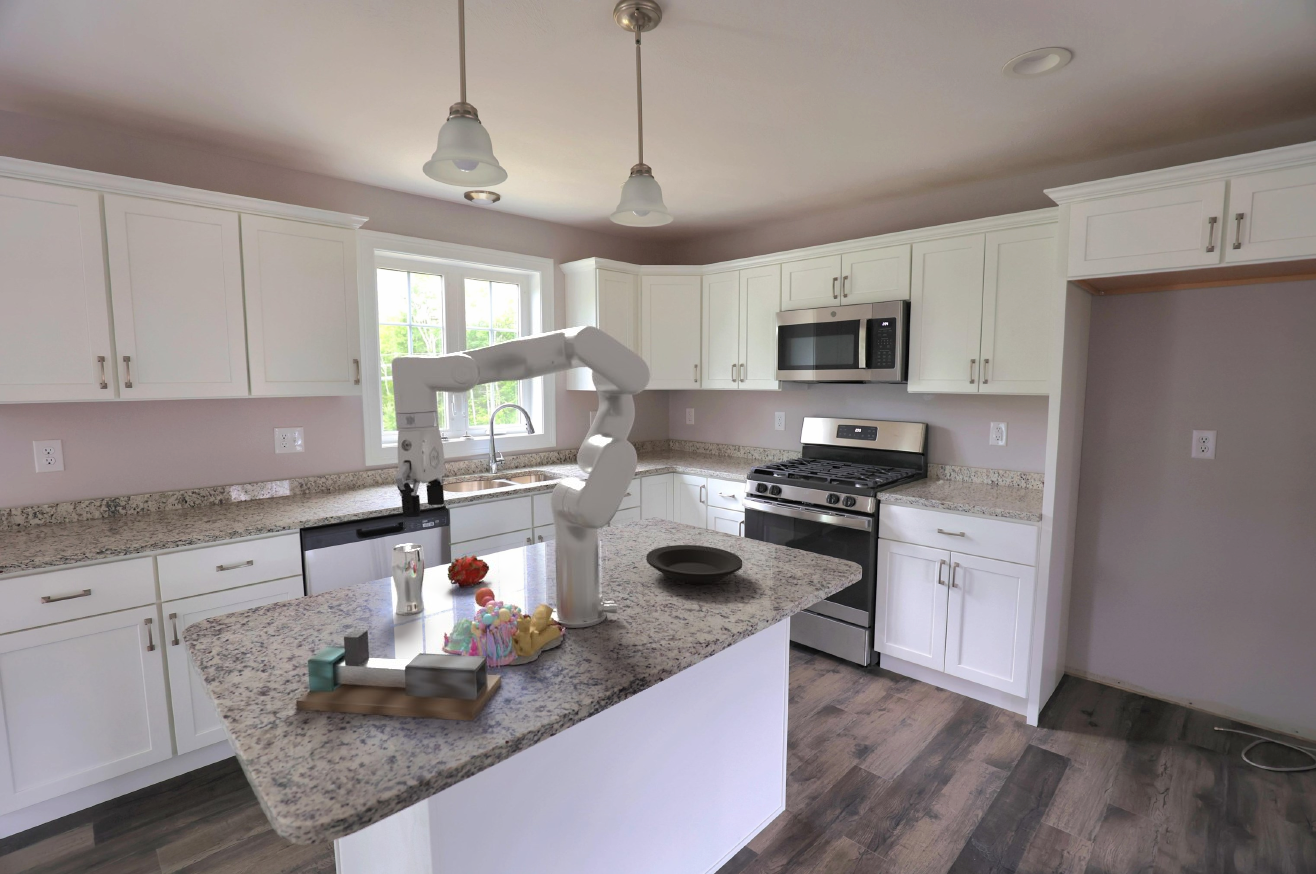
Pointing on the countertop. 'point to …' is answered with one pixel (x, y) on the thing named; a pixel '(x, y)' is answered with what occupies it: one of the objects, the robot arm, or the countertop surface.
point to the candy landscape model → (504, 632)
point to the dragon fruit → (467, 571)
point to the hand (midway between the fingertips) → (424, 510)
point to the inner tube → (366, 665)
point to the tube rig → (429, 691)
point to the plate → (694, 563)
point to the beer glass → (408, 577)
